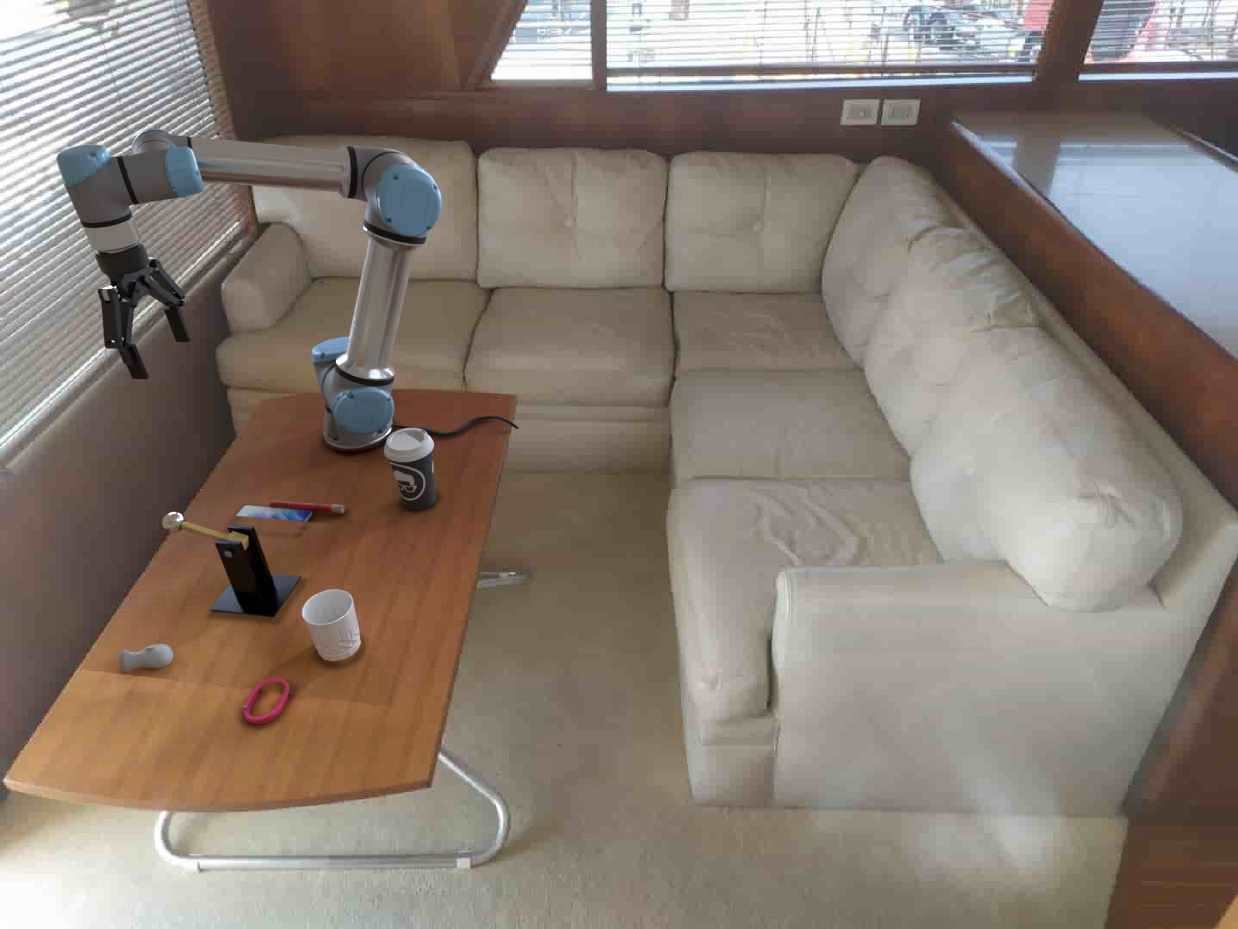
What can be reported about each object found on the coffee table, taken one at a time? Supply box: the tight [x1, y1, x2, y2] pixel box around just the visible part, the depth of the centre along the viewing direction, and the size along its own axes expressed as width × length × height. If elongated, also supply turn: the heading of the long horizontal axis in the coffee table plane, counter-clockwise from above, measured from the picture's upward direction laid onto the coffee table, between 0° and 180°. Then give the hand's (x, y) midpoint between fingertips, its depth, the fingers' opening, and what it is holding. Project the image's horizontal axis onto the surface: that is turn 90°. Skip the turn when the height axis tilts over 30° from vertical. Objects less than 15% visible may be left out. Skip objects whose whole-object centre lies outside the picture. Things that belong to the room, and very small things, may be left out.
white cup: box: [301, 588, 362, 662], centre depth 138 cm, size 8×8×10 cm
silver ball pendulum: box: [161, 511, 249, 550], centre depth 143 cm, size 14×4×4 cm, turn 81°
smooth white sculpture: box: [118, 643, 174, 674], centre depth 138 cm, size 4×8×5 cm
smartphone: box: [234, 504, 313, 523], centre depth 168 cm, size 7×1×15 cm
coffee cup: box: [383, 428, 437, 511], centre depth 169 cm, size 10×10×15 cm
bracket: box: [209, 523, 302, 618], centre depth 147 cm, size 12×10×15 cm
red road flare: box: [269, 499, 345, 514], centre depth 171 cm, size 2×15×2 cm, turn 82°
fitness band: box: [242, 677, 292, 725], centre depth 132 cm, size 8×6×2 cm
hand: (163, 359), depth 153 cm, fingers open, 13 cm apart
